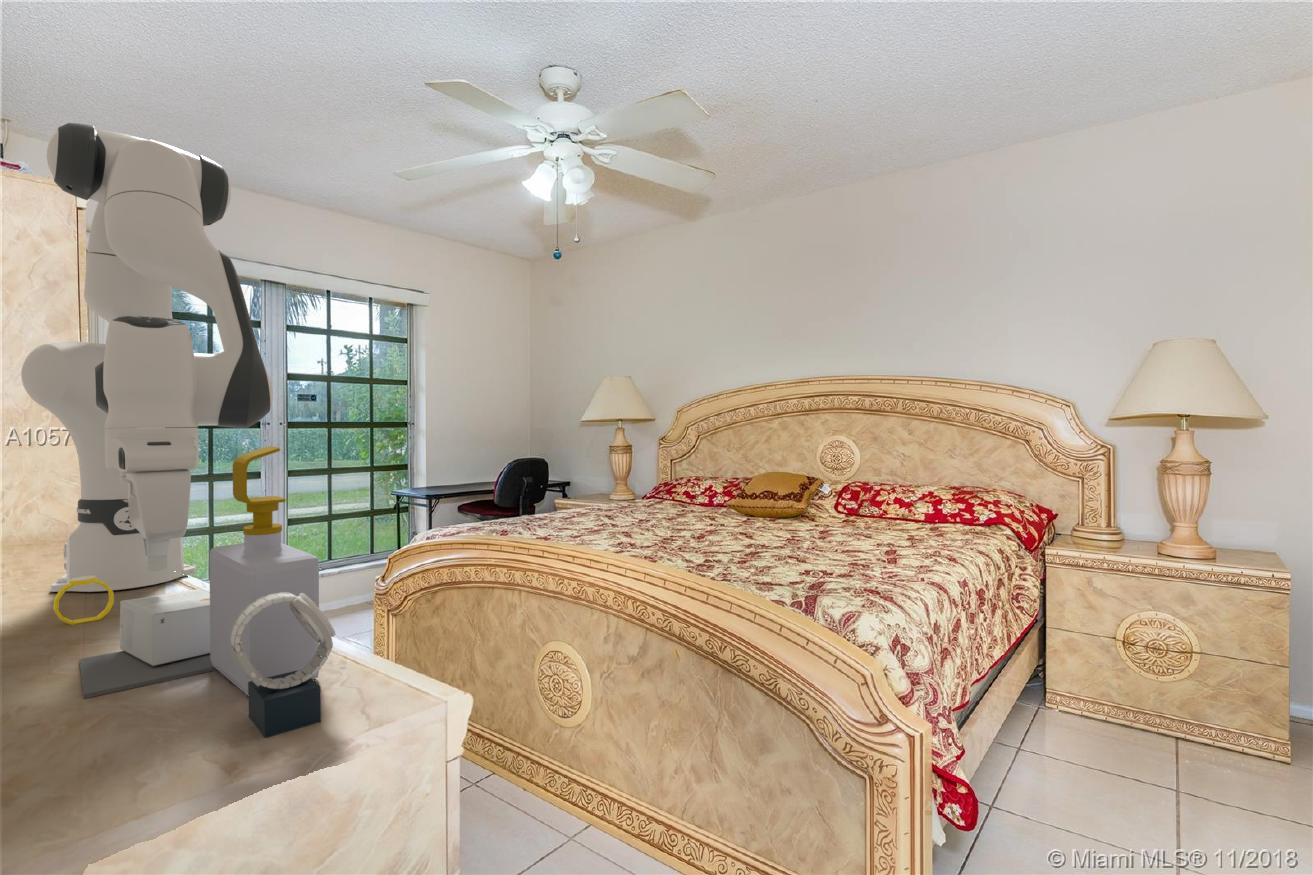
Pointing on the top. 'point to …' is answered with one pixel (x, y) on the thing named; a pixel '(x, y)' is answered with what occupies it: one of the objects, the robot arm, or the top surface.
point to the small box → (166, 626)
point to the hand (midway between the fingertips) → (156, 569)
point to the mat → (133, 672)
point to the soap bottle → (260, 590)
